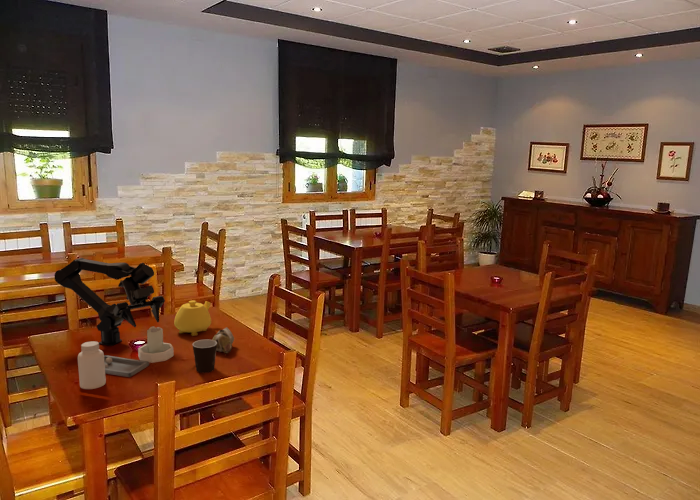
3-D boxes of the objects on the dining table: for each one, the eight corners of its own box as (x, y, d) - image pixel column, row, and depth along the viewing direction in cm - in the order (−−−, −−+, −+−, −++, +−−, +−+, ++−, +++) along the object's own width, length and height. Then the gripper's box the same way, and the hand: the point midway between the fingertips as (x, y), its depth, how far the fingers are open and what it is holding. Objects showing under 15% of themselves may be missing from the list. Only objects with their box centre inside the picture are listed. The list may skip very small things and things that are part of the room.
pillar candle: (145, 358, 203) (144, 329, 201) (151, 352, 209) (150, 324, 207) (160, 359, 203) (159, 329, 201) (165, 353, 209) (164, 325, 207)
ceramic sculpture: (239, 324, 222) (228, 338, 207) (240, 343, 224) (229, 359, 209) (214, 322, 222) (201, 337, 208) (215, 342, 225) (202, 357, 210)
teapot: (196, 320, 251) (195, 292, 249) (224, 325, 246) (223, 296, 243) (166, 333, 233) (165, 303, 231) (196, 339, 227) (195, 308, 225)
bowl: (132, 361, 202) (132, 351, 201) (152, 350, 213) (151, 340, 213) (160, 365, 199) (160, 355, 198) (178, 354, 210) (178, 344, 210)
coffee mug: (210, 375, 192) (210, 349, 190) (188, 372, 194) (188, 346, 192) (224, 363, 203) (224, 338, 202) (203, 360, 205) (203, 335, 203)
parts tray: (83, 371, 192) (83, 363, 191) (105, 360, 202) (104, 352, 202) (129, 379, 187) (129, 370, 186) (149, 367, 197) (148, 359, 197)
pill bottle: (85, 381, 184) (82, 339, 182) (109, 381, 185) (107, 339, 182) (75, 391, 177) (72, 348, 174) (100, 391, 177) (98, 348, 175)
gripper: (115, 283, 202) (129, 318, 196) (162, 276, 215) (176, 309, 209) (107, 298, 208) (120, 333, 203) (153, 291, 222) (167, 323, 216)
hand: (147, 324), depth 208 cm, fingers open, 9 cm apart
